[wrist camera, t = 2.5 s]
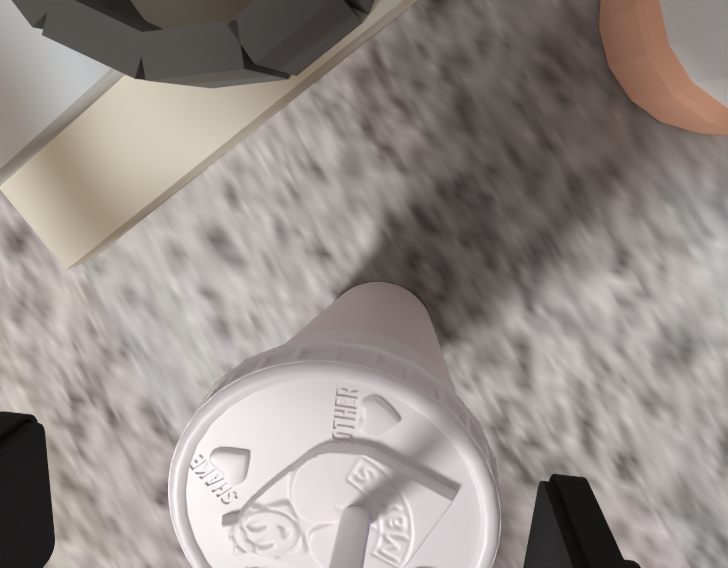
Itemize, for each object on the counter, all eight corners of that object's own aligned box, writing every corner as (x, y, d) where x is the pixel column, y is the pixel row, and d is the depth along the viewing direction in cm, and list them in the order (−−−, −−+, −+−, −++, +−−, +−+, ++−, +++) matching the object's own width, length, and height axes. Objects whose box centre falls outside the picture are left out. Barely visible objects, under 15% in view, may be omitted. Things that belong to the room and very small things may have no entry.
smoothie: (493, 397, 20) (602, 948, 7) (319, 433, 21) (123, 961, 8) (446, 219, 19) (466, 477, 5) (261, 269, 20) (-96, 582, 7)
